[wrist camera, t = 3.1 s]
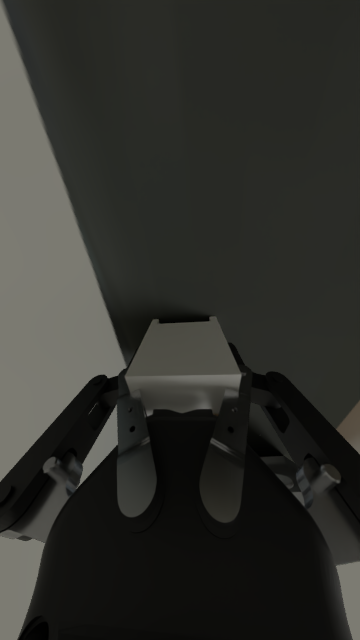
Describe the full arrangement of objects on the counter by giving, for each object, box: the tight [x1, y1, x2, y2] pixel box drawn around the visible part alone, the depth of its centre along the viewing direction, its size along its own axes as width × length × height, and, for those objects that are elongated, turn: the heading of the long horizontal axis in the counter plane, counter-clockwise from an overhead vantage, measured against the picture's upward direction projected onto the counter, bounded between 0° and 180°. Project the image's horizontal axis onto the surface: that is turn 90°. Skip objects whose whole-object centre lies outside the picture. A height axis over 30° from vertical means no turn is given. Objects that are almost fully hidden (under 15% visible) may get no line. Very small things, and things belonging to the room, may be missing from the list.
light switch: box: [260, 435, 304, 505], centre depth 21 cm, size 8×6×14 cm
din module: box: [125, 316, 242, 416], centre depth 11 cm, size 5×6×7 cm
